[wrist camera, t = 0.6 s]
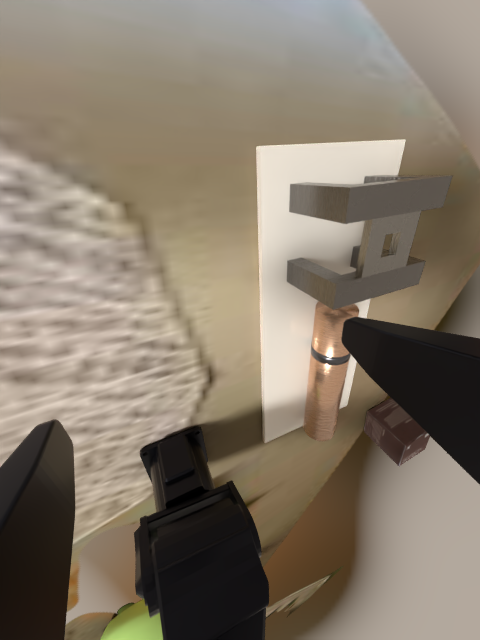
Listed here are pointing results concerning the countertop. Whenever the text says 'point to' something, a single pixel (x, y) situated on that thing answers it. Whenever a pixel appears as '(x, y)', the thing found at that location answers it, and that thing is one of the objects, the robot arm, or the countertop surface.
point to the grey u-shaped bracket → (367, 234)
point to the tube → (326, 371)
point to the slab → (313, 245)
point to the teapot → (134, 624)
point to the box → (395, 431)
